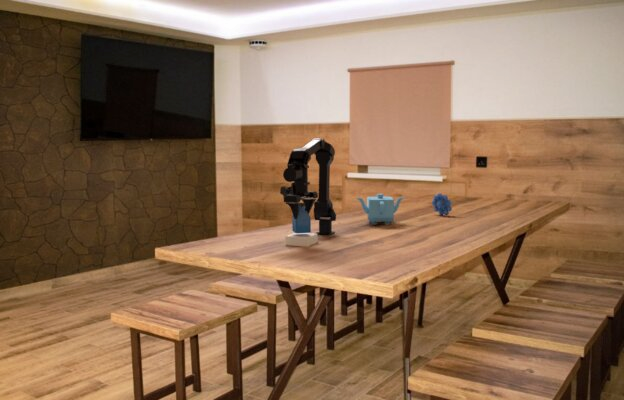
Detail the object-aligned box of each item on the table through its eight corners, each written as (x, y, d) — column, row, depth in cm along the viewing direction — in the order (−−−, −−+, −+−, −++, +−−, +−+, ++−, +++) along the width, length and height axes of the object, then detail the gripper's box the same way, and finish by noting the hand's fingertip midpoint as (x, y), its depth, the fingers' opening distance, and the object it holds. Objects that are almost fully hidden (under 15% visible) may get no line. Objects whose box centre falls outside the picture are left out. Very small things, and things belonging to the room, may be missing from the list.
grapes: (428, 215, 324) (428, 193, 323) (433, 213, 329) (434, 192, 328) (448, 217, 317) (448, 194, 315) (453, 215, 322) (453, 193, 321)
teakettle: (382, 227, 287) (383, 196, 285) (353, 223, 300) (353, 194, 298) (406, 222, 300) (407, 193, 298) (377, 219, 313) (377, 191, 311)
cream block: (295, 241, 255) (295, 232, 254) (317, 243, 251) (317, 233, 250) (285, 245, 245) (285, 236, 245) (307, 247, 242) (307, 237, 241)
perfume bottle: (296, 233, 244) (295, 204, 242) (292, 231, 250) (292, 202, 248) (310, 232, 245) (310, 203, 244) (306, 230, 251) (306, 201, 250)
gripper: (295, 177, 257) (296, 213, 259) (271, 181, 241) (272, 219, 243) (318, 178, 252) (318, 214, 253) (295, 182, 235) (296, 221, 237)
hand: (301, 217), depth 247 cm, fingers closed on perfume bottle, 9 cm apart
